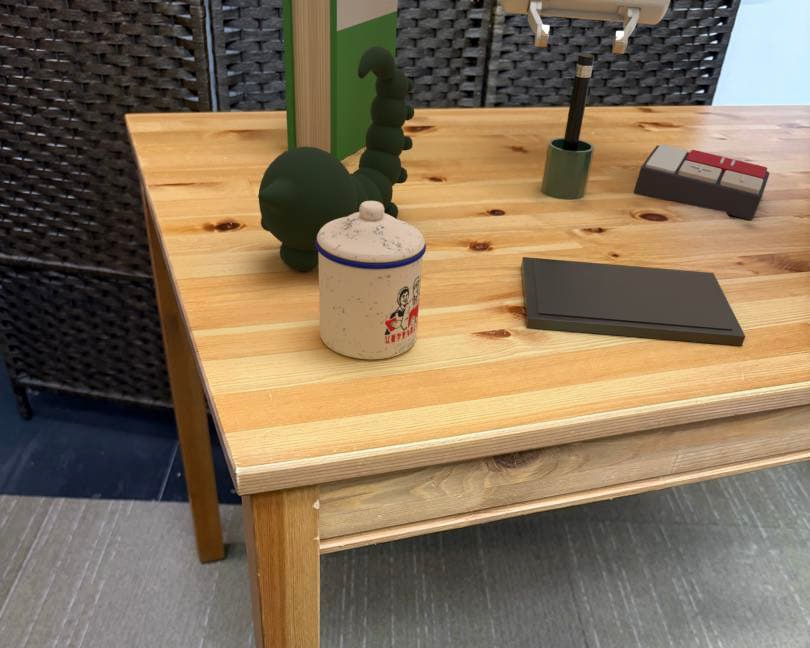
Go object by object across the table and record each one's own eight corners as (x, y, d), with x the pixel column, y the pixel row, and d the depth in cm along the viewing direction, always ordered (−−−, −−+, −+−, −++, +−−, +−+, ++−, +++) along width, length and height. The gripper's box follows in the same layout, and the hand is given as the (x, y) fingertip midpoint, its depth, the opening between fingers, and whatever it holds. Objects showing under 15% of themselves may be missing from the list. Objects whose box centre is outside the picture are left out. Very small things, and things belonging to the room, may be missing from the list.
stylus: (569, 188, 104) (594, 54, 94) (569, 193, 102) (595, 57, 92) (554, 187, 104) (578, 52, 94) (555, 192, 102) (578, 56, 92)
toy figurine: (354, 221, 97) (220, 275, 79) (364, 36, 86) (211, 49, 67) (423, 239, 94) (301, 300, 76) (444, 50, 83) (306, 68, 64)
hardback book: (336, 162, 108) (337, -62, 92) (287, 152, 110) (279, -69, 94) (392, 130, 120) (400, -73, 104) (347, 121, 122) (349, -79, 106)
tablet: (710, 281, 86) (713, 271, 85) (742, 346, 75) (746, 335, 74) (521, 265, 86) (522, 255, 85) (526, 327, 76) (528, 316, 75)
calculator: (764, 190, 97) (642, 160, 101) (750, 225, 100) (632, 195, 104) (772, 165, 105) (658, 138, 108) (759, 199, 108) (649, 171, 111)
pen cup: (582, 189, 105) (592, 139, 101) (586, 204, 101) (596, 153, 97) (539, 186, 105) (547, 136, 101) (541, 201, 101) (549, 149, 97)
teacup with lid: (403, 371, 68) (411, 233, 61) (301, 351, 70) (297, 214, 62) (438, 310, 77) (449, 183, 69) (347, 294, 79) (348, 168, 71)
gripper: (506, -91, 96) (497, 21, 95) (680, -77, 96) (672, 36, 95) (501, -49, 102) (491, 56, 101) (663, -36, 102) (655, 70, 101)
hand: (580, 47), depth 98 cm, fingers open, 8 cm apart
